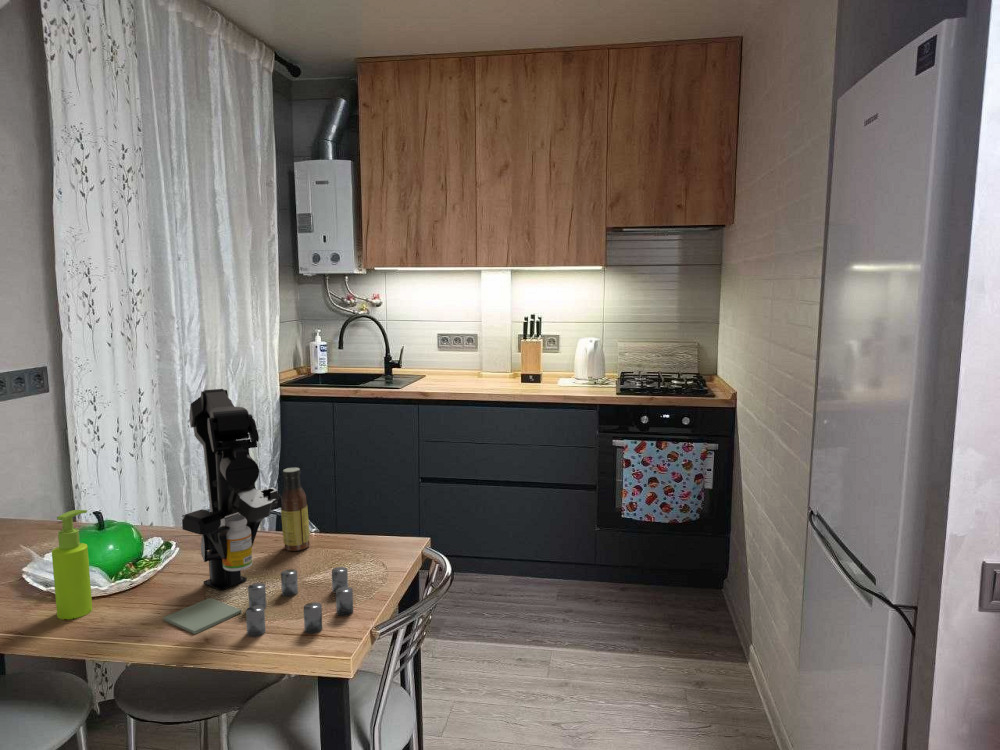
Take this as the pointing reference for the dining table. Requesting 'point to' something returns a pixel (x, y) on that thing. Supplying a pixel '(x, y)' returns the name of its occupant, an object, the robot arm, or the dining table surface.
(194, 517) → the robot arm
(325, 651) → the dining table surface
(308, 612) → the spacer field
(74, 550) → the soap dispenser
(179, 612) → the mat
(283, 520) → the sauce bottle
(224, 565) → the supplement bottle
